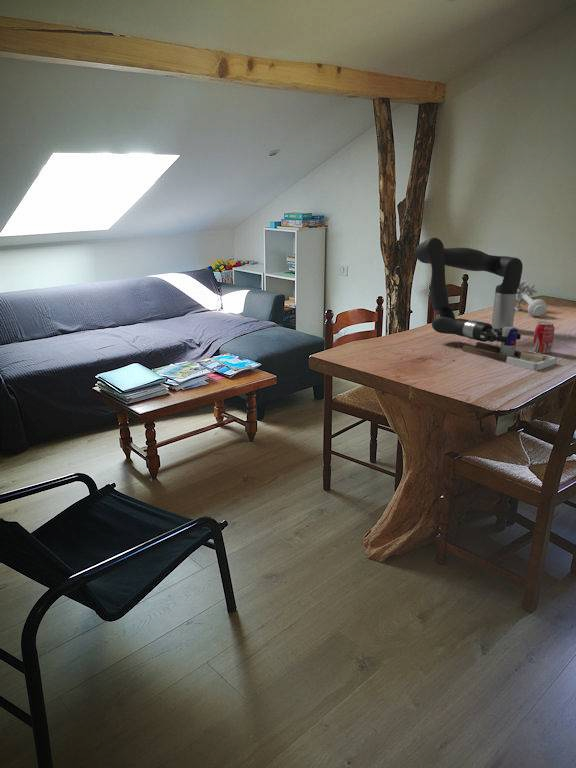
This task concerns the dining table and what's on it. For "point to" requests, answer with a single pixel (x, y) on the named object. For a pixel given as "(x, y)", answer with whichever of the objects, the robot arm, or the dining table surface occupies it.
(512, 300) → the robot arm
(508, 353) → the energy drink
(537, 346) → the soda can
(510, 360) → the tray
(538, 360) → the chip
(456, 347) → the dining table surface
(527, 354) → the tan cube
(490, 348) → the slot rails
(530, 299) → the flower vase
